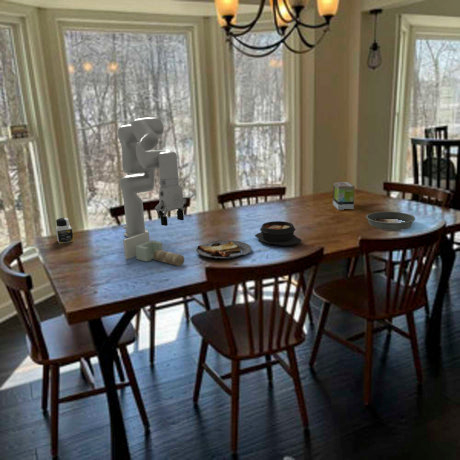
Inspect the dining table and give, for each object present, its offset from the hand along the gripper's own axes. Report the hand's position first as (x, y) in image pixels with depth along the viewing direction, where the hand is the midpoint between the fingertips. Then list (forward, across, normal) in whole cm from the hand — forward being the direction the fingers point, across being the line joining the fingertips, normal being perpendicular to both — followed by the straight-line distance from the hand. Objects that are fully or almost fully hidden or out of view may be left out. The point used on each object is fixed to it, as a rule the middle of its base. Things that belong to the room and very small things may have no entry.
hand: (172, 222), depth 188 cm
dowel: (+19, 0, +4) cm, 19 cm away
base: (+18, 0, +24) cm, 30 cm away
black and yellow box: (+18, -5, +74) cm, 76 cm away
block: (+18, 0, +16) cm, 24 cm away
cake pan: (+19, +104, -58) cm, 120 cm away
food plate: (+19, +23, -8) cm, 31 cm away
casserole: (+19, +49, -22) cm, 57 cm away
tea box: (+19, +129, -21) cm, 132 cm away
